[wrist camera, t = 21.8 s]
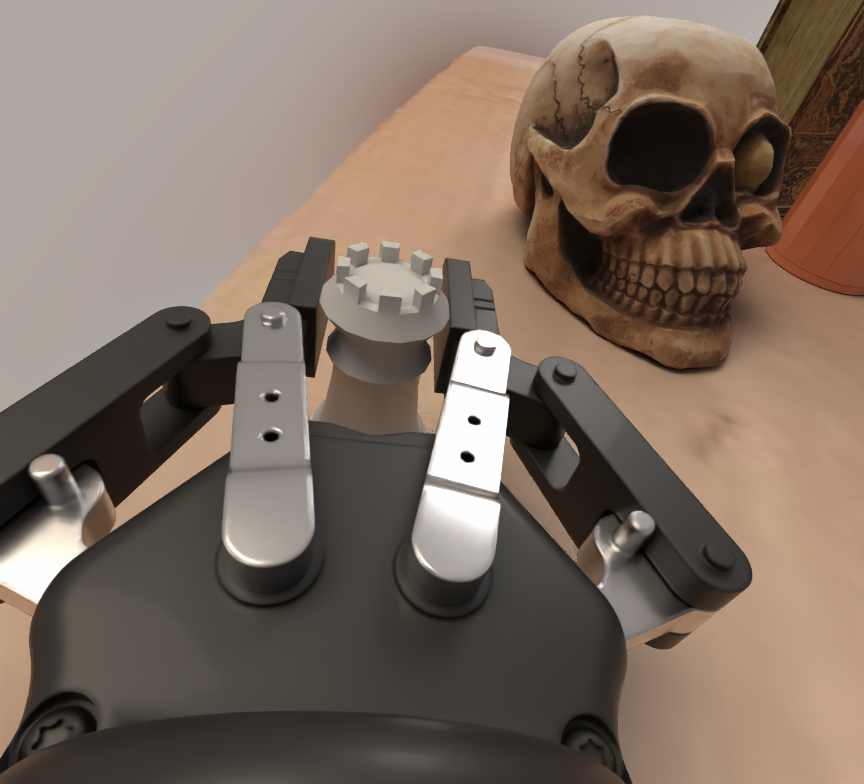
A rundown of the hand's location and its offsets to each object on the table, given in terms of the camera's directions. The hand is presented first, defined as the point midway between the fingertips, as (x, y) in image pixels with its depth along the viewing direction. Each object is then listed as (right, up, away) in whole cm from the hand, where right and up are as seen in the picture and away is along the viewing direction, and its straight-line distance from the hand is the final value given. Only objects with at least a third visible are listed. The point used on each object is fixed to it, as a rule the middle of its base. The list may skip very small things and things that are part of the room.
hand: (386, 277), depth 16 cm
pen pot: (+30, +6, +22) cm, 37 cm away
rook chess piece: (-1, -6, +2) cm, 7 cm away
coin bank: (+12, +4, +17) cm, 21 cm away
